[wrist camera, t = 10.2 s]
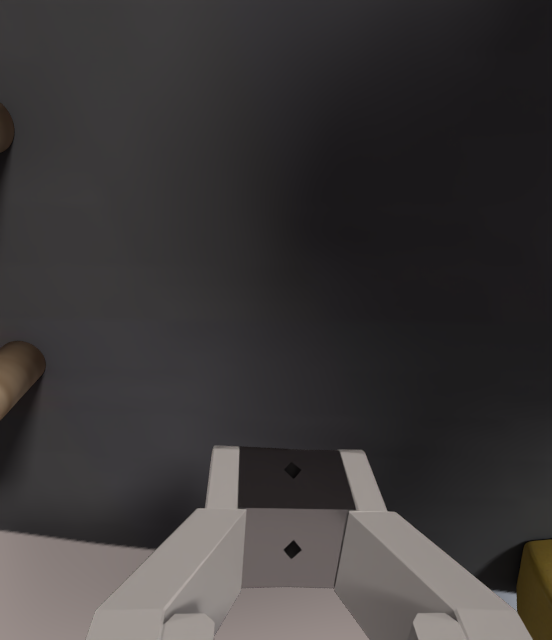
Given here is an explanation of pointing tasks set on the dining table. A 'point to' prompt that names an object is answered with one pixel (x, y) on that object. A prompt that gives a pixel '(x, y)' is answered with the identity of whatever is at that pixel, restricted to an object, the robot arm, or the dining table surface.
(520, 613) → the flower pot
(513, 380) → the dining table surface
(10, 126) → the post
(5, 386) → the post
